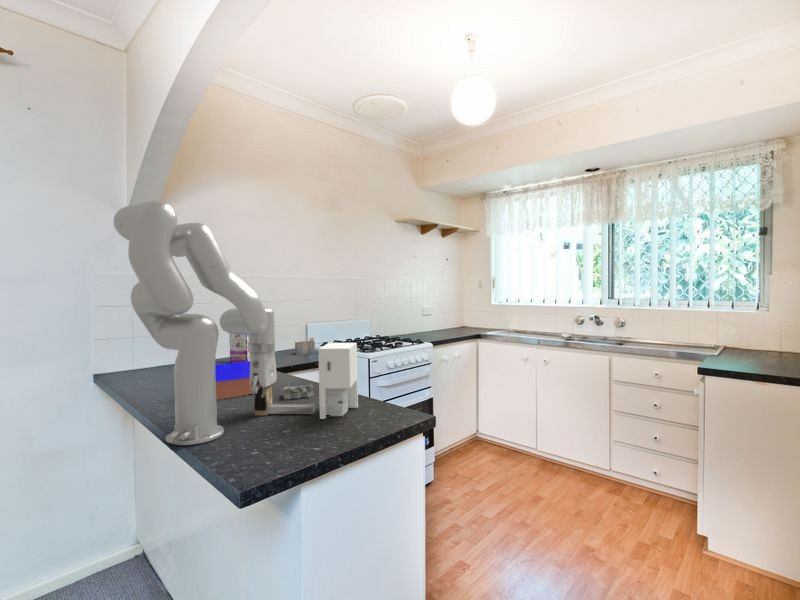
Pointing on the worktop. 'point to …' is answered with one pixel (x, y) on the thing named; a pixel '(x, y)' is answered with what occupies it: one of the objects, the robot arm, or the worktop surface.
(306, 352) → the ruin model on sheet
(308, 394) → the egg carton
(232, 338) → the candy bar box
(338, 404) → the skincare box
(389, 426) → the worktop surface
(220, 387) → the house
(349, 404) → the cabinet
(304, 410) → the push stick
